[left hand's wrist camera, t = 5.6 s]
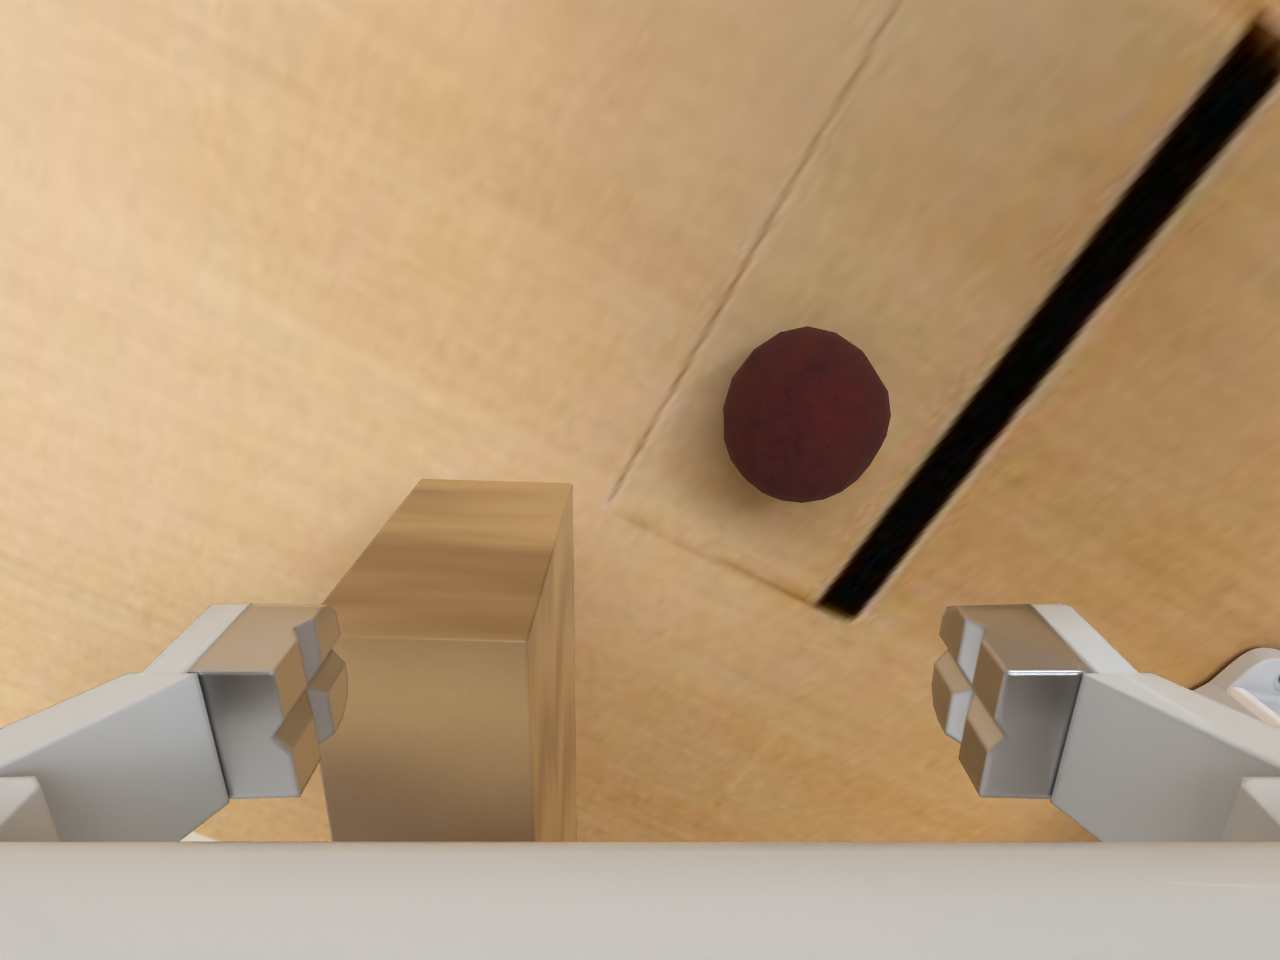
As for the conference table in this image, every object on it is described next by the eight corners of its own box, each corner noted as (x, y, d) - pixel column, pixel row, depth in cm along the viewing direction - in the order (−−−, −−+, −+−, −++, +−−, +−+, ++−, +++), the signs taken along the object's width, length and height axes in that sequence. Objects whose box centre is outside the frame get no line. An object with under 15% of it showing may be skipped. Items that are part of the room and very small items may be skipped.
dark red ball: (714, 468, 39) (726, 526, 33) (720, 314, 36) (733, 344, 30) (859, 468, 39) (900, 527, 32) (876, 314, 36) (925, 345, 30)
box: (420, 478, 30) (296, 633, 20) (572, 482, 30) (527, 640, 20) (461, 932, 39) (390, 1200, 29) (577, 937, 39) (548, 1207, 29)
